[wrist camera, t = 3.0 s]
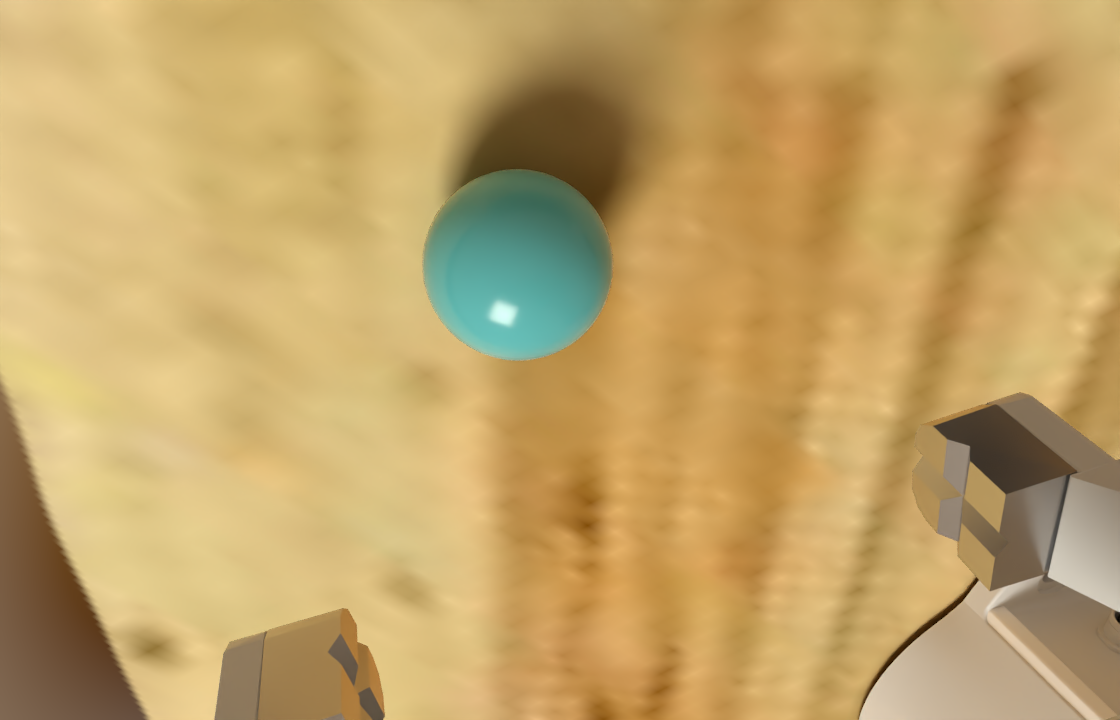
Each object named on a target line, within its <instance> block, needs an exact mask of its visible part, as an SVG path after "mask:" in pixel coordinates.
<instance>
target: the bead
mask: <svg viewBox="0 0 1120 720" xmlns="http://www.w3.org/2000/svg"><path fill="white" fill-rule="evenodd" d="M612 276H613V254H612V247H611V243H610V239H609V235H608V232H607V230H606V228H605V225H604V223H603V221H602V219H601V217H600V216H599V214H598V213H597V211H596V209H595V208H594V207H593V206H592V204H591V203H590V202H589V201H588V200H587V199H586V198H585V197H584V196H583V195H582V194H581V193H580V192H579V191H578V190H577V189H576V188H574V187H573V186H571V185H570V184H568V183H567V182H565V181H563V180H561V179H559V178H557V177H554V176H552V175H550V174H547V173H543V172H540V171H535V170H529V169H508V170H500V171H495V172H491V173H488V174H485V175H482V176H480V177H478V178H476V179H474V180H472V181H470V182H468V183H467V184H465V185H464V186H462V187H461V188H460V189H458V190H457V191H456V192H455V193H454V194H453V195H452V196H451V197H450V198H449V199H448V200H447V201H446V202H445V203H444V204H443V205H442V207H441V208H440V210H439V211H438V213H437V214H436V216H435V218H434V220H433V222H432V224H431V226H430V228H429V231H428V234H427V237H426V241H425V245H424V251H423V277H424V284H425V287H426V291H427V295H428V297H429V300H430V302H431V305H432V307H433V309H434V311H435V312H436V314H437V316H438V317H439V319H440V320H441V322H442V323H443V324H444V325H445V327H446V328H447V329H448V330H449V331H450V332H451V333H452V334H453V335H454V336H455V337H456V338H457V339H459V340H460V341H461V342H463V343H464V344H466V345H467V346H469V347H470V348H472V349H474V350H476V351H478V352H480V353H483V354H486V355H488V356H491V357H495V358H499V359H504V360H513V361H521V360H532V359H538V358H542V357H546V356H548V355H551V354H554V353H556V352H558V351H560V350H563V349H565V348H566V347H568V346H569V345H571V344H573V343H574V342H575V341H577V340H578V339H579V338H580V337H582V336H583V335H584V334H585V333H586V332H587V331H588V330H589V329H590V327H591V326H592V325H593V324H594V322H595V321H596V320H597V318H598V316H599V315H600V313H601V311H602V309H603V307H604V305H605V303H606V300H607V298H608V295H609V292H610V288H611V283H612Z"/></svg>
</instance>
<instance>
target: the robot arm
mask: <svg viewBox="0 0 1120 720" xmlns="http://www.w3.org/2000/svg"><path fill="white" fill-rule="evenodd" d="M915 448H916V449H917V450H918V451H919V452H920V453H921V454H922V455H923V457H922V458H921V460H920V461H919V463H918V464H917V465H916V467H915V468H914V470H913V474H912V490H913V493H914V496H915V499H916V503H917V506H918V508H919V510H920V511H921V513H922V515H923V516H924V518H925V520H926V521H927V522H928V523H929V524H930V526H931V527H932V528H933V529H934V530H935V531H936V533H938V534H940V535H943V536H945V537H948V538H950V539H953V540H956V541H958V557H959V558H960V559H961V560H962V562H963V563H964V564H965V565H966V566H967V567H968V568H969V569H970V570H971V571H972V573H973V574H974V575H975V576H976V577H977V578H978V579H979V581H978V582H977V584H976V585H975V586H974V587H973V589H972V590H971V591H970V592H969V594H968V595H967V596H966V598H965V599H964V600H963V601H962V602H961V603H960V604H959V605H958V606H957V607H956V608H955V609H954V610H952V611H951V612H950V613H949V614H948V615H946V616H945V617H944V618H942V619H941V620H940V621H939V622H937V623H936V624H935V625H933V626H932V627H931V628H930V629H928V630H927V631H926V632H924V633H923V634H922V635H921V636H920V637H918V638H917V639H916V640H915V641H914V642H913V643H912V644H910V645H909V646H908V647H907V648H906V649H905V650H904V651H903V652H902V653H901V654H900V655H899V656H898V657H897V658H896V659H895V660H894V661H893V662H892V664H891V665H890V666H889V667H888V668H887V669H886V671H885V672H884V673H883V674H882V676H881V677H880V678H879V680H878V681H877V683H876V684H875V686H874V687H873V689H872V690H871V692H870V694H869V696H868V697H867V699H866V702H865V704H864V706H863V708H862V711H861V714H860V717H859V720H1120V459H1119V460H1115V459H1114V458H1112V457H1111V456H1110V455H1108V454H1107V453H1106V452H1104V451H1103V450H1102V449H1101V448H1099V447H1098V446H1097V445H1095V444H1094V443H1093V442H1091V441H1090V440H1089V439H1087V438H1086V437H1085V436H1084V435H1082V434H1081V433H1080V432H1078V431H1077V430H1076V429H1074V428H1073V427H1072V426H1070V425H1069V424H1068V423H1066V422H1065V421H1064V420H1063V419H1061V418H1060V417H1059V416H1057V415H1056V414H1055V413H1053V412H1052V411H1051V410H1049V409H1048V408H1047V407H1046V406H1044V405H1043V404H1042V403H1040V402H1039V401H1038V400H1036V399H1035V398H1034V397H1032V396H1030V395H1028V394H1024V393H1021V392H1020V393H1017V394H1013V395H1010V396H1007V397H1004V398H1001V399H998V400H995V401H992V402H989V403H987V404H985V405H979V406H976V407H973V408H970V409H967V410H964V411H961V412H958V413H955V414H952V415H949V416H946V417H943V418H940V419H937V420H934V421H931V422H928V423H925V424H922V425H920V427H919V429H918V430H917V432H916V436H915ZM384 717H385V713H384V700H383V693H382V688H381V683H380V678H379V673H378V670H377V667H376V665H375V662H374V659H373V657H372V655H371V652H370V650H369V648H368V646H366V645H363V644H361V643H358V642H357V625H356V623H355V621H354V619H353V618H352V616H351V614H350V612H349V611H348V609H344V608H342V609H339V610H335V611H332V612H328V613H325V614H321V615H318V616H315V617H311V618H308V619H304V620H301V621H297V622H294V623H290V624H287V625H284V626H280V627H277V628H273V629H270V630H268V631H265V632H262V633H259V634H255V635H252V636H248V637H245V638H241V639H238V640H234V641H231V642H229V644H228V646H227V648H226V650H225V652H224V654H223V661H222V668H221V675H220V683H219V690H218V698H217V705H216V712H215V720H383V718H384Z"/></svg>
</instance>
